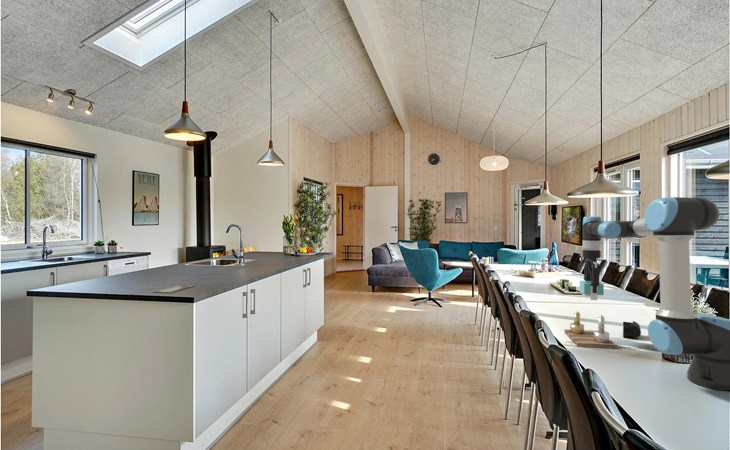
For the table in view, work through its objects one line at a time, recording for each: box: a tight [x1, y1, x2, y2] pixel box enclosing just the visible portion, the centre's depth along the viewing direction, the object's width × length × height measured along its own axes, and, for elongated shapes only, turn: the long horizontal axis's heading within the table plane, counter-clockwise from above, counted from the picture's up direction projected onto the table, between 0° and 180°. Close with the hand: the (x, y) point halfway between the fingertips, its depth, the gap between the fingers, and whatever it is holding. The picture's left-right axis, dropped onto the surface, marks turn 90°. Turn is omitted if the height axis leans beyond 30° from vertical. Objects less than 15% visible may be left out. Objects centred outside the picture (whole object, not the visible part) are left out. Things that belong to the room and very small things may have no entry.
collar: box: [579, 280, 605, 296], centre depth 195 cm, size 8×8×5 cm
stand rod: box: [593, 315, 610, 343], centre depth 190 cm, size 6×6×12 cm
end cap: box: [622, 320, 642, 340], centre depth 201 cm, size 10×7×7 cm
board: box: [563, 328, 618, 350], centre depth 197 cm, size 24×16×2 cm, turn 167°
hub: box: [569, 311, 585, 334], centre depth 204 cm, size 6×6×10 cm
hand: (591, 297), depth 195 cm, fingers closed on collar, 8 cm apart
